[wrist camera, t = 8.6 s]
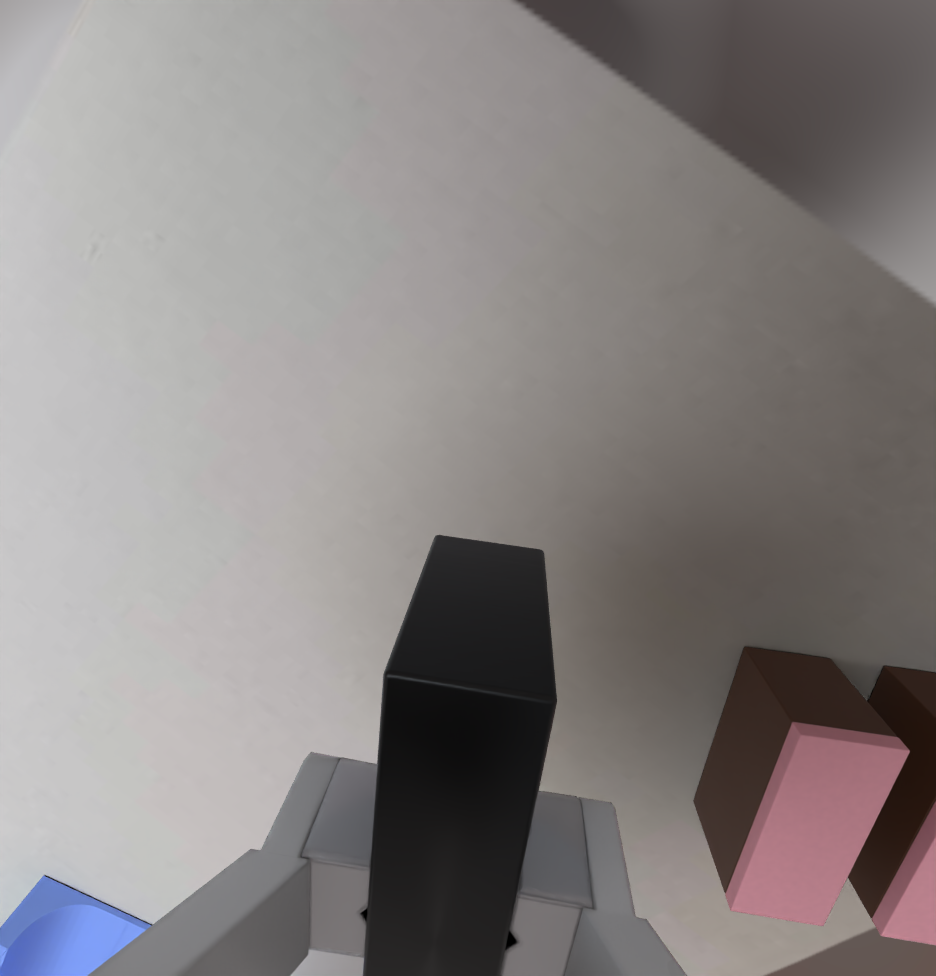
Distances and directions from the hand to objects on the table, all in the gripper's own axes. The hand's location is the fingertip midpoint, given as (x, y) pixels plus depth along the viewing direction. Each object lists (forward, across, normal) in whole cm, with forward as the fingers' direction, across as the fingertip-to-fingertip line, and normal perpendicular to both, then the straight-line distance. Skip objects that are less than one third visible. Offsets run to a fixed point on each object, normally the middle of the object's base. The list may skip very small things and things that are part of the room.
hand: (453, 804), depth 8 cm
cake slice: (+16, -15, +12) cm, 25 cm away
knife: (+2, 0, +6) cm, 6 cm away
